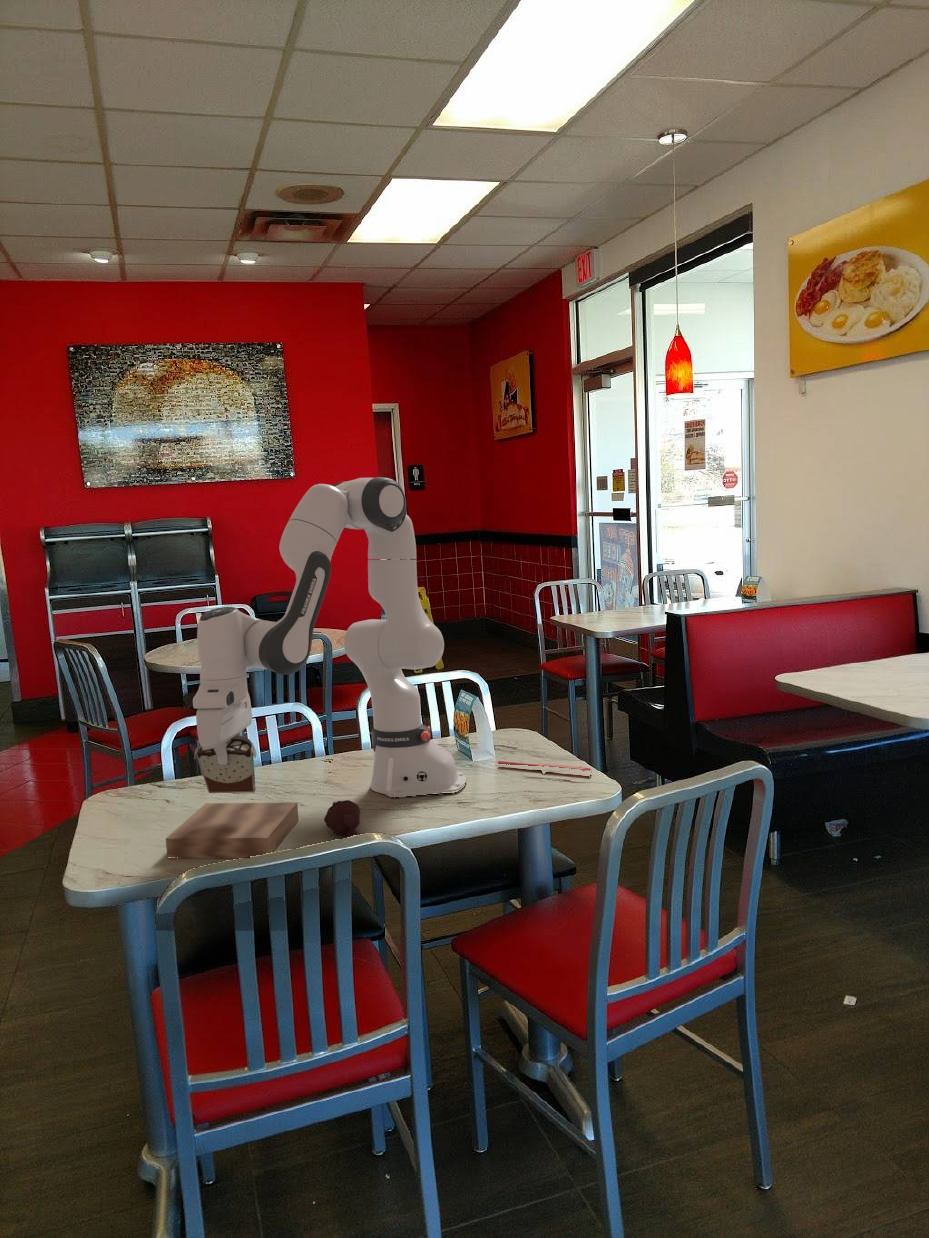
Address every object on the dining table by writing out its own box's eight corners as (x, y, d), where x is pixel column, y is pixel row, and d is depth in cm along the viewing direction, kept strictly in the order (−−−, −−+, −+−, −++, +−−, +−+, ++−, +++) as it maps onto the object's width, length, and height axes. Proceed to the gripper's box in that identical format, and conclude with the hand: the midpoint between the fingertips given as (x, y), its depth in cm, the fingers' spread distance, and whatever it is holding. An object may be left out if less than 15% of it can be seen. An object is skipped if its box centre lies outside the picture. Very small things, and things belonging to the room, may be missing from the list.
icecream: (312, 795, 186) (330, 824, 172) (345, 781, 188) (365, 808, 175) (322, 824, 188) (340, 854, 174) (354, 810, 190) (375, 839, 177)
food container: (270, 775, 184) (262, 732, 181) (261, 792, 179) (253, 749, 175) (211, 776, 186) (203, 734, 182) (201, 793, 180) (192, 750, 176)
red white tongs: (587, 783, 209) (593, 772, 213) (586, 776, 209) (592, 764, 212) (494, 773, 220) (501, 763, 224) (492, 766, 219) (500, 755, 223)
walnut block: (298, 820, 190) (297, 802, 189) (269, 858, 170) (267, 837, 170) (207, 821, 192) (205, 803, 191) (167, 858, 172) (165, 838, 172)
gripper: (227, 680, 188) (232, 744, 189) (188, 702, 167) (194, 774, 169) (257, 679, 187) (261, 744, 189) (221, 701, 167) (227, 773, 169)
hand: (229, 758), depth 179 cm, fingers closed on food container, 5 cm apart
